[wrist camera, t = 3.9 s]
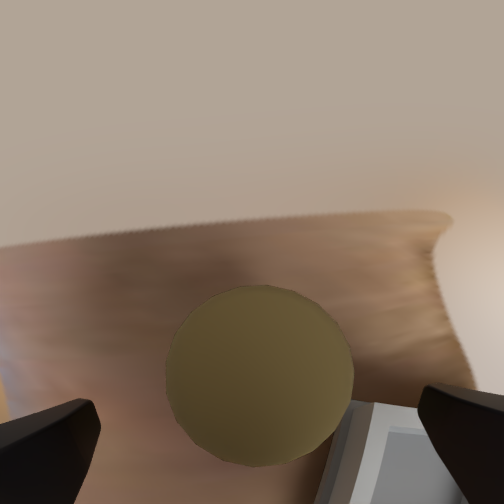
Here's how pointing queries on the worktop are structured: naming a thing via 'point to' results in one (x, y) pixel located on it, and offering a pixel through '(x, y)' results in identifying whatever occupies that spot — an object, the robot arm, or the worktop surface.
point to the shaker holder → (384, 460)
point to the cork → (259, 375)
